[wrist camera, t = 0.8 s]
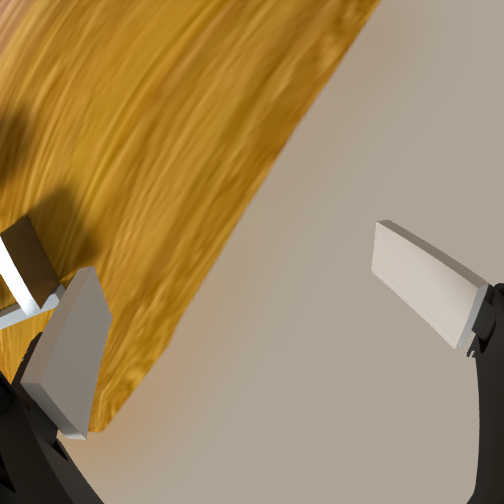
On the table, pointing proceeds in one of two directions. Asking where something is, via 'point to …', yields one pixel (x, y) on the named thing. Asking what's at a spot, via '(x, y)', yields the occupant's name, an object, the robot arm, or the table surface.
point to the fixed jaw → (26, 266)
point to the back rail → (17, 314)
